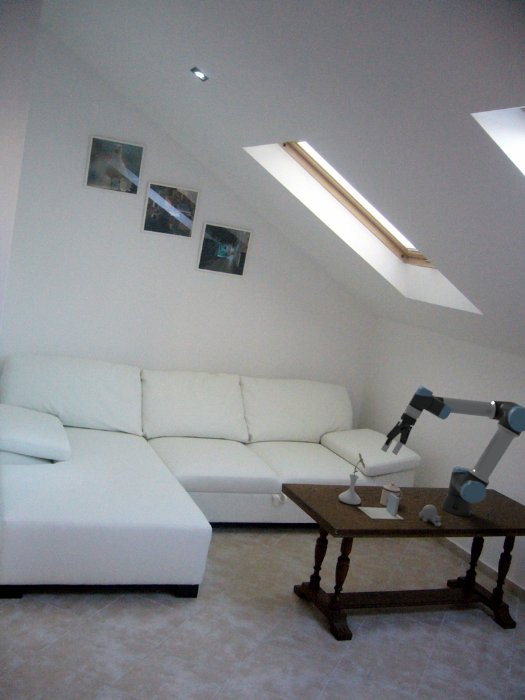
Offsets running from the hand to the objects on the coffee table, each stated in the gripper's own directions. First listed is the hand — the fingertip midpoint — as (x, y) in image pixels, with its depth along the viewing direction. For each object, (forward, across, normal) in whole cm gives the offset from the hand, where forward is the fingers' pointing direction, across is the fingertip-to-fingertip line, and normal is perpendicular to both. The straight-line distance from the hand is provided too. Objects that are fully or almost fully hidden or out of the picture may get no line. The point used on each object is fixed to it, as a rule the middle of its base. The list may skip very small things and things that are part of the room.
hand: (388, 452), depth 342 cm
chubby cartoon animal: (+19, -9, +33) cm, 39 cm away
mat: (+27, +4, +14) cm, 30 cm away
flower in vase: (+31, +3, -3) cm, 32 cm away
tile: (+24, -1, +16) cm, 29 cm away
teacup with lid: (+24, -15, +9) cm, 30 cm away
